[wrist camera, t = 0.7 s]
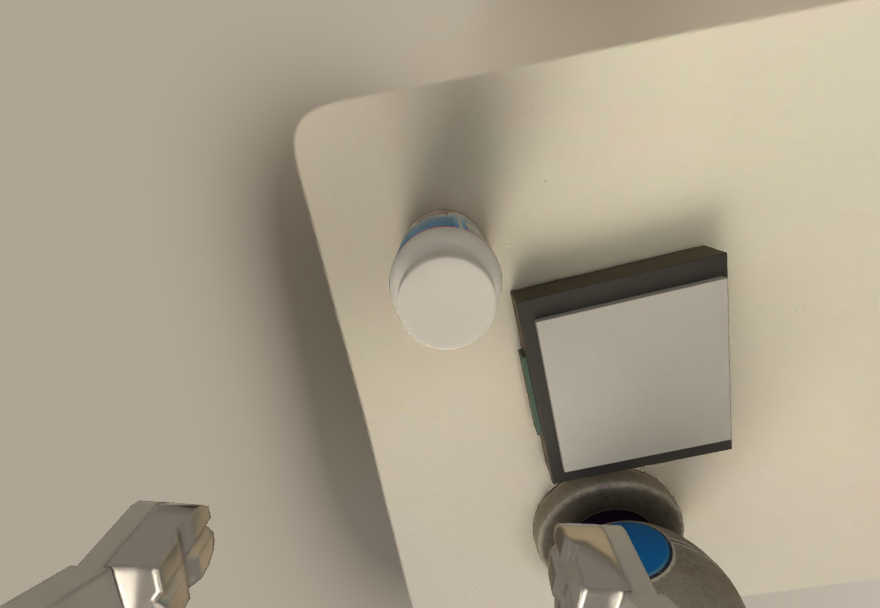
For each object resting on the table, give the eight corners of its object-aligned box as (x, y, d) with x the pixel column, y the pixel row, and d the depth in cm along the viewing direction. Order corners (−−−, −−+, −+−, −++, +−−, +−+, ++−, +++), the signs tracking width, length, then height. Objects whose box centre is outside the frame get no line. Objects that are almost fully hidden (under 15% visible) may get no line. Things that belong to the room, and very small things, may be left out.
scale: (505, 292, 30) (512, 306, 27) (704, 245, 29) (733, 254, 26) (541, 463, 35) (550, 490, 32) (712, 429, 34) (737, 454, 31)
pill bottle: (395, 284, 30) (369, 352, 19) (410, 201, 28) (391, 226, 18) (475, 300, 30) (494, 375, 20) (496, 219, 28) (528, 254, 18)
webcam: (550, 586, 40) (609, 817, 26) (516, 488, 36) (564, 698, 22) (684, 555, 39) (823, 781, 25) (664, 449, 35) (816, 647, 21)
